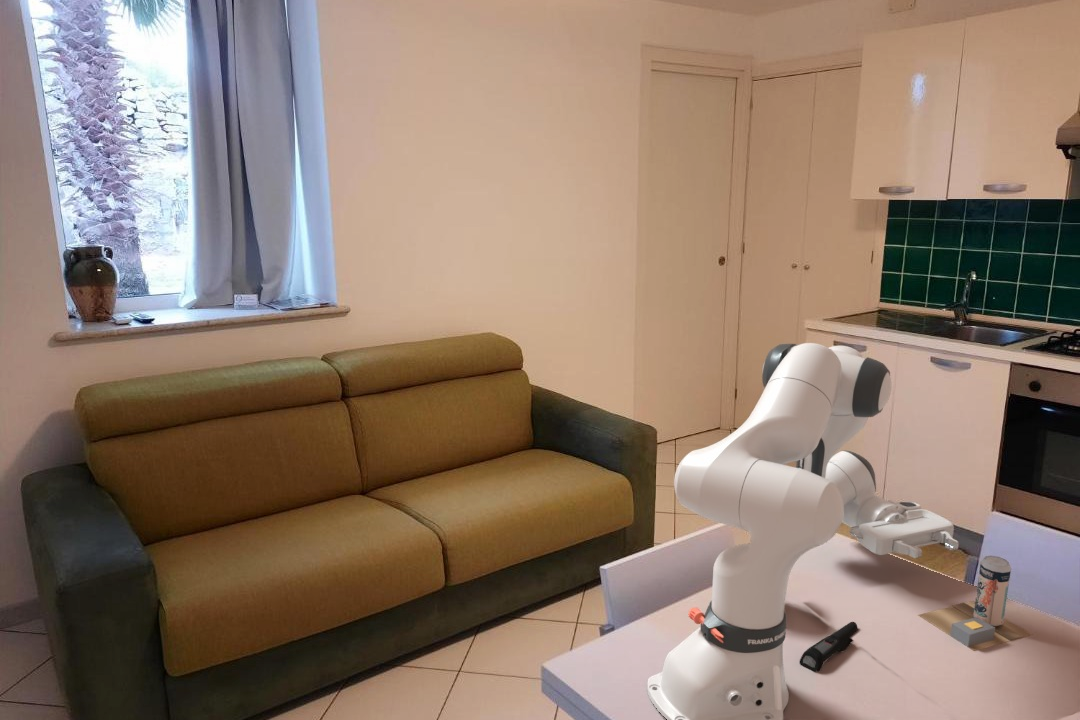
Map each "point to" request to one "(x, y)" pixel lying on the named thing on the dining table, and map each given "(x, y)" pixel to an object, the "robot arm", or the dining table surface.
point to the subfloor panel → (965, 611)
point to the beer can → (992, 590)
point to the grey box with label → (972, 631)
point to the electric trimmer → (828, 647)
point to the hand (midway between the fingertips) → (937, 550)
